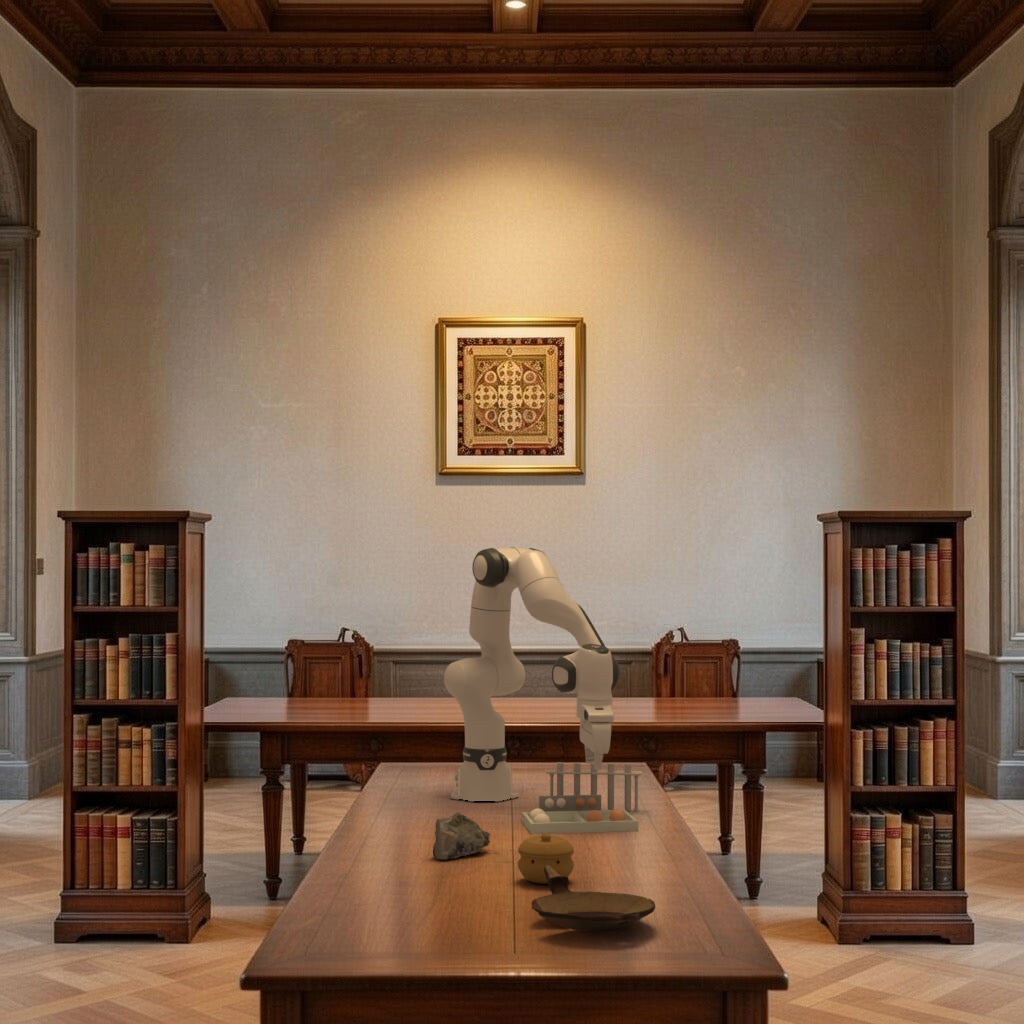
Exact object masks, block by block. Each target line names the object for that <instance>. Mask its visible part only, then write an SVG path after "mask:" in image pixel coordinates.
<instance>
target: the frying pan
mask: <svg viewBox="0 0 1024 1024" xmlns="http://www.w3.org/2000/svg"><path fill="white" fill-rule="evenodd" d="M544 872H545V876H546V878H547V881H548V884H547V885H548V887H549V889H550V892H551V894H548V895H544V896H540V897H537V898H534V899H532V901H531V909H533V910H534V911H535V912H537V913H538V916H540V917H542V918H543V919H544V920H546V921H549V922H551V923H553V924H555V925H557V926H560V927H563V928H567V929H569V930H572V931H573V930H574V931H579V932H601V931H602V932H603V931H610V930H616V929H619V928H623V927H625V926H629V925H630V924H633V923H635V922H638V921H639V920H642V919H643V918H645V917H647V916H649V915H650V914H652V913H653V912H654V911H655V909H656V903H655V901H654V900H653V899H651V898H647V897H645V896H642V895H641V896H640V895H635V894H630V893H619V892H618V893H616V892H603V891H602V892H601V891H571V890H570V889H569V885H568V884H569V877H567V876H563V875H561V876H560V875H559V874H558V873H556V872H555V870H554V869H553V868H552V867H551V866H548V865H546V866H545V867H544Z"/></svg>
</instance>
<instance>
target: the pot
mask: <svg viewBox="0 0 1024 1024" xmlns="http://www.w3.org/2000/svg"><path fill="white" fill-rule="evenodd" d="M574 848H575V847H574V846H573V845H572V843H571V842H569V840H567V839H566V838H564V837H561V836H557V835H556V836H555V835H551V833H544V834H540V835H535V836H530V837H527V838H525V839H524V840H523V841H522V842H520V844H519V846H518V847H517V849H518V850H517V852H518V854H519V856H520V858H519V859H518V861H517V868H518V869H519V872H520V873H521V875H522V876H523V877H524V879H526V880H527V881H528V882H532V883H534V884H542V885H549V884H548V881H547V878H546V876H545V872H544V867H545V866H546V865H548V866H551V867H552V868H553V869H554V870H555V872H556V873H558V874H559V875H560V876H561V875H563V876H567V877H568V878H569V877H570V875H571V874H572V872H573V870H574V867H575V862H574V860H573V859H572V855H574V853H575V850H574Z"/></svg>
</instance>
